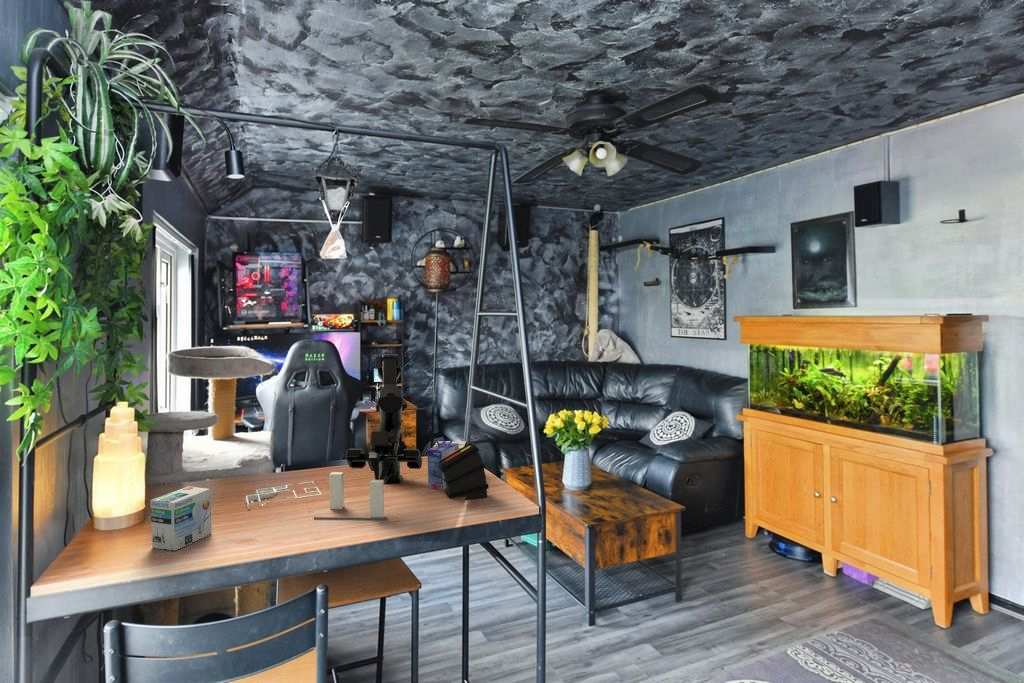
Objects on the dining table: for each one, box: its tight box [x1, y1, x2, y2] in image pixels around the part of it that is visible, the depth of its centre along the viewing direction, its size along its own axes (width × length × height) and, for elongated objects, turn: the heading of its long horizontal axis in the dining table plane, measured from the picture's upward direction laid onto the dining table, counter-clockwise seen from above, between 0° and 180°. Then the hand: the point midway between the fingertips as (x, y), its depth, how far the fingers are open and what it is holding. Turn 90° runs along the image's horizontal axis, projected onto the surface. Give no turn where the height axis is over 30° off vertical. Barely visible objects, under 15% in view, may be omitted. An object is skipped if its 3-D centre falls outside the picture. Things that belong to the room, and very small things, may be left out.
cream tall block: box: [328, 471, 345, 510], centre depth 147 cm, size 2×3×9 cm, turn 88°
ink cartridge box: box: [426, 436, 459, 490], centre depth 167 cm, size 10×6×14 cm, turn 155°
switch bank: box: [313, 516, 388, 521], centre depth 145 cm, size 12×18×2 cm, turn 88°
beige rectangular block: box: [368, 479, 385, 518], centre depth 140 cm, size 2×3×9 cm, turn 88°
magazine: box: [438, 442, 490, 501], centre depth 158 cm, size 4×13×15 cm, turn 112°
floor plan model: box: [245, 480, 323, 510], centre depth 156 cm, size 19×25×2 cm
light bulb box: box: [150, 485, 213, 552], centre depth 129 cm, size 11×7×11 cm, turn 164°
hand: (378, 488), depth 141 cm, fingers closed
